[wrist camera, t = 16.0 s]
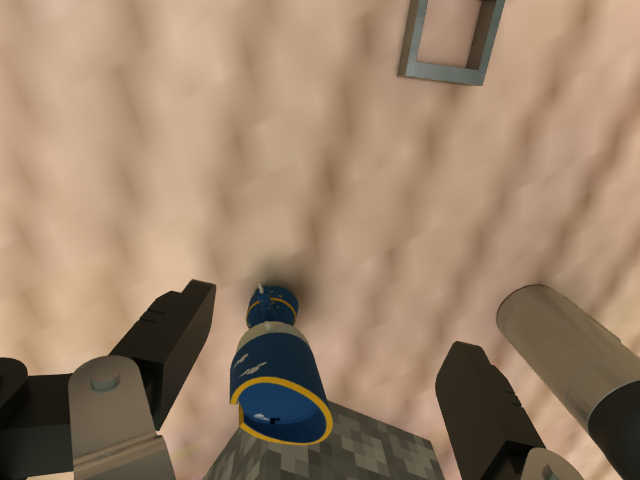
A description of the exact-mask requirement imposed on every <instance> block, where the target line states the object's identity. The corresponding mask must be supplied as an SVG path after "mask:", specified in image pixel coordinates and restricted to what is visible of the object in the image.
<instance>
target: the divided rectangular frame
mask: <svg viewBox="0 0 640 480" xmlns="http://www.w3.org/2000/svg"><path fill="white" fill-rule="evenodd" d="M480 1H482V5H481V9H480V13H479V17H478V22H477V26H476V30H475V34H474V38H473V42H472V46H471V50H470V54H469V58H468V62H467V66H466V69H465V68H458V67H450V66H443V65H436V64H429V63H421V62H416V59H417V54H418V49H419V44H420V39H421V34H422V29H423V24H424V19H425V14H426V8H427V3H428V0H411V2H410V8H409V13H408V19H407V24H406V30H405V36H404V41H403V47H402V52H401V58H400V63H399V69H398V74H397V76H398V77H406V78H413V79H421V80H428V81H436V82H444V83H451V84H459V85H466V86H482V85H483V82H484V78H485V74H486V70H487V67H488V63H489V59H490V55H491V52H492V48H493V44H494V40H495V37H496V33H497V29H498V25H499V22H500V18H501V14H502V10H503V7H504V3H505V0H480Z"/></svg>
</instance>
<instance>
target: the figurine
mask: <svg viewBox="0 0 640 480" xmlns="http://www.w3.org/2000/svg"><path fill="white" fill-rule="evenodd" d="M258 286H259V288H258V289H257V290H256V292H255V294H254V295H253V297H252V298H251V301H250V304H249V307H248V311H247V316H246V322H247V326H248V328H249V330H248V331H247V332H246V333H245V334H244V335H243V336H242V338H241V340H240V342H239V344H238V347H237V351H236V355H235V357H234V359H233V361H232V364H231V369H230V404H237V403H238V400H239V427H240V428H241V429H243V430H244V431H246V432H247V433H249V434H250V435H252V436H254V437H257V438H259V439H262V440H265V441H269V442H273V443H279V444H288V445H311V444H316V443H319V442H321V441H323V440H325V439H326V438H327V437H328V436H329V434H330V433H331V431H332V428H333V419H332V415H331V411H330V408H329V405H328V402H327V398H326V395H325V392H324V389H323V385H322V382H321V379H320V376H319V372H318V369H317V366H316V363H315V359H314V356H313V353H312V351H311V349H310V346H309V344H308V342H307V340H306V338H305V337H304V335H303V334H302V333H301V332H300V331H299V330H298V329H296V328H295V327H293V326H294V323H295V320H296V316H297V312H298V301H297V299H296V297H295V296H294V295H293V294H292V293H291V292H290V291H289V290H287V289H285V288H282V287H278V286H270V287H267V286H261V283H260V282H259V283H258Z"/></svg>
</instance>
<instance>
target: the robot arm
mask: <svg viewBox="0 0 640 480" xmlns="http://www.w3.org/2000/svg"><path fill="white" fill-rule="evenodd" d="M215 294H216V285H215V284H212V283H207V282H203V281H199V280H194V279H192V280H191V281H190V282H189V284H188V285H187V286H186V287H185V289H184V290H183V291H182V293H179V292H175V291H169V292H168V293H166V294H164V295H162V296H160V297H158V298H156V300H155V301H154V302H153V303H152V304H151V305H150V307H149V308H148V309H147V311H145V313H144V314H143V315H142V316H141V317H140V319H139V321H137V322H136V323H135V324H134V325H133V327H132V328H131V329H130V330H129V331H128V332H127V334H126V335H125V336H124V337H123V338H122V339H121V341H120V342H119V343H118V344H117V345H116V346H115V348H114V349H113V350H112V351H111V352H110V353H109V355H108V356H102V357H98V358H95V359H92V360H90V361H88V362H86V363H84V364H83V365H81V366H80V367H79V368H78V369H76V370H75V372H74V373H70V374H59V375H36V376H28V372H27V368H26V366H25V365H24V364H23V363H22V362H21V361H18V360H16V359H12V358H5V357H2V358H0V480H26V479H27V478H28V477H32V476H40V475H48V474H56V473H64V472H71V471H74V480H176V478H175V474H174V470H173V467H172V463H171V460H170V456H169V453H168V449H167V446H166V443H165V440H164V438H163V436H162V435H159V436H157V434H156V431H159V430H160V428H161V426H162V424H163V423H164V421H165V419H166V417H167V415H168V413H169V411H170V409H171V407H172V405H173V403H174V401H175V400H176V398H177V396H178V394H179V392H180V390H181V388H182V386H183V384H184V382H185V380H186V378H187V377H188V375H189V373H190V371H191V369H192V367H193V365H194V363H195V361H196V359H197V357H198V356H199V354H200V352H201V350H202V348H203V346H204V344H205V342H206V340H207V337H208V335H209V331H210V328H211V323H212V316H213V309H214V302H215ZM497 324H498V328H499V329H500V331H501V332H502V334H503V335H504V336H505V337H506V338H507V339H508V341H509V342H510V343H511V344H512V345H513V346H514V348H515V349H516V350H517V351H518V353H519V354H520V355H521V356H522V357H523V358H524V360H525V361H526V362H527V363H528V364H529V365H530V367H531V368H532V369H533V370H534V371H535V373H536V374H537V375H538V376H539V377H540V378H541V380H542V381H543V382H544V383H545V384H546V385H547V387H548V388H549V389H550V390H551V391H552V392H553V394H554V395H555V396H556V397H557V398H558V400H559V401H560V402H561V403H562V404H563V405H564V407H565V408H566V409H567V410H568V411H569V412H570V414H571V415H572V416H573V417H574V418H575V419H576V420H577V422H578V423H579V424H580V425H581V426H582V428H583V429H584V430H585V431H586V432H587V433H588V435H589V436H590V437H591V438H592V440H593V441H594V442H595V443H596V444H597V445H598V447H599V448H600V449H601V450H602V452H603V453H604V455H605V456H606V458H607V460H608V461H609V462H610V464H611V465H612V466H613V468H614V469H615V470H616V472H617V473H618V474H619V475H620V476H621V478H622V479H623V480H640V358H639V357H638V356H637V355H636V354H634V353H633V352H632V351H631V350H629V349H628V348H627V347H625V346H624V345H623V344H622V343H621V340H620V339H619V338H618V337H617V336H616V335H614V334H613V333H612V332H610V331H609V330H608V329H607V328H605V327H604V326H603V325H601V324H600V323H599V322H597V321H596V320H595V319H594V318H592V317H591V316H590V315H588V314H587V313H586V312H584V311H583V310H582V309H581V308H579V307H578V306H577V305H575V304H574V303H573V302H571V301H570V300H569V299H568V298H566V297H563V296H560V295H559V294H558V293H557V292H555V291H554V290H552V289H551V288H549V287H546V286H540V285H535V286H529V287H525V288H522V289H520V290H518V291H516V292H515V293H513V294H512V295H510V296H509V297H508V298H507V299H506V300H505V301H504V303H503V304H502V305H501V307H500V309H499V311H498V315H497ZM435 391H436V396H437V399H438V402H439V406H440V409H441V412H442V415H443V419H444V422H445V425H446V429H447V432H448V435H449V438H450V442H451V445H452V448H453V451H454V455H455V458H456V461H457V464H458V468H459V471H460V474H461V477H462V480H584V479H583V477H582V476H581V475H580V473H579V472H578V471H577V470H576V469H575V468H574V467H573V466H572V465H571V464H570V463H569V462H568V461H566V460H565V459H564V458H562V457H561V456H559V455H558V454H556V453H554V452H552V451H550V450H547V449H546V447H545V445H544V443H543V442H542V440H541V438H540V436H539V435H538V433H537V431H536V429H535V427H534V426H533V424H532V422H531V420H530V419H529V417H528V415H527V413H526V411H525V410H524V408H523V407H521V405H522V404H521V403H520V401H519V399H518V397H517V396H516V395H515V392H514V390H513V388H512V387H511V385H510V383H509V381H508V380H507V378H506V377H505V376H504V375H503V374H502V373H501V372H500V371H499V370H498V369H497V368H496V367H495V366H494V365H491V364H490V362H489V360H488V358H487V356H486V354H485V352H484V350H483V349H482V348H481V347H480V346H477V345H473V344H468V343H464V342H460V341H456V342H454V343H453V345H452V346H451V348H450V350H449V352H448V354H447V356H446V358H445V360H444V362H443V364H442V366H441V368H440V370H439V372H438V375H437V378H436V383H435ZM155 430H156V431H155Z"/></svg>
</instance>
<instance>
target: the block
mask: <svg viewBox="0 0 640 480" xmlns="http://www.w3.org/2000/svg"><path fill="white" fill-rule="evenodd" d="M327 402H328V405H329V408H330V411H331V415H332V419H333V428H332V431H331V433H330V434H329V436H328V437H327V438H326V439H325V440H323V441H321V442H319V443H316V444H311V445H288V444H279V443H273V442H269V441H265V440H262V439H259V438H257V437H254V436H252V435H250V434H249V433H247V432H246V431H244V430H243V429H241V428H240V427H239V428H238V429H237V431H236V432H235V434H234V435H233V437H232V438H231V439H230V441H229V442H228V444H227V445H226V447H225V448H224V450H223V451H222V452H221V454H220V455H219V457H218V458H217V460H216V461H215V462H214V464H213V465H212V467H211V468H210V470H209V471H208V473H207V474H206V475H205V477H204V478H203V480H445V478H444V476H443V473H442V471H441V468H440V465H439V463H438V460H437V458H436V455H435V452H434V450H433V447H432V445H431V442H430V441H429V440H426V439H424V438H421V437H419V436H416V435H414V434H411V433H408V432H406V431H403V430H401V429H398V428H396V427H393V426H391V425H388V424H386V423H383V422H381V421H378V420H376V419H373V418H371V417H368V416H366V415H363V414H361V413H358V412H356V411H353V410H351V409H348V408H345V407H343V406H340V405H338V404H335V403H333V402H330V401H328V400H327Z"/></svg>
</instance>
